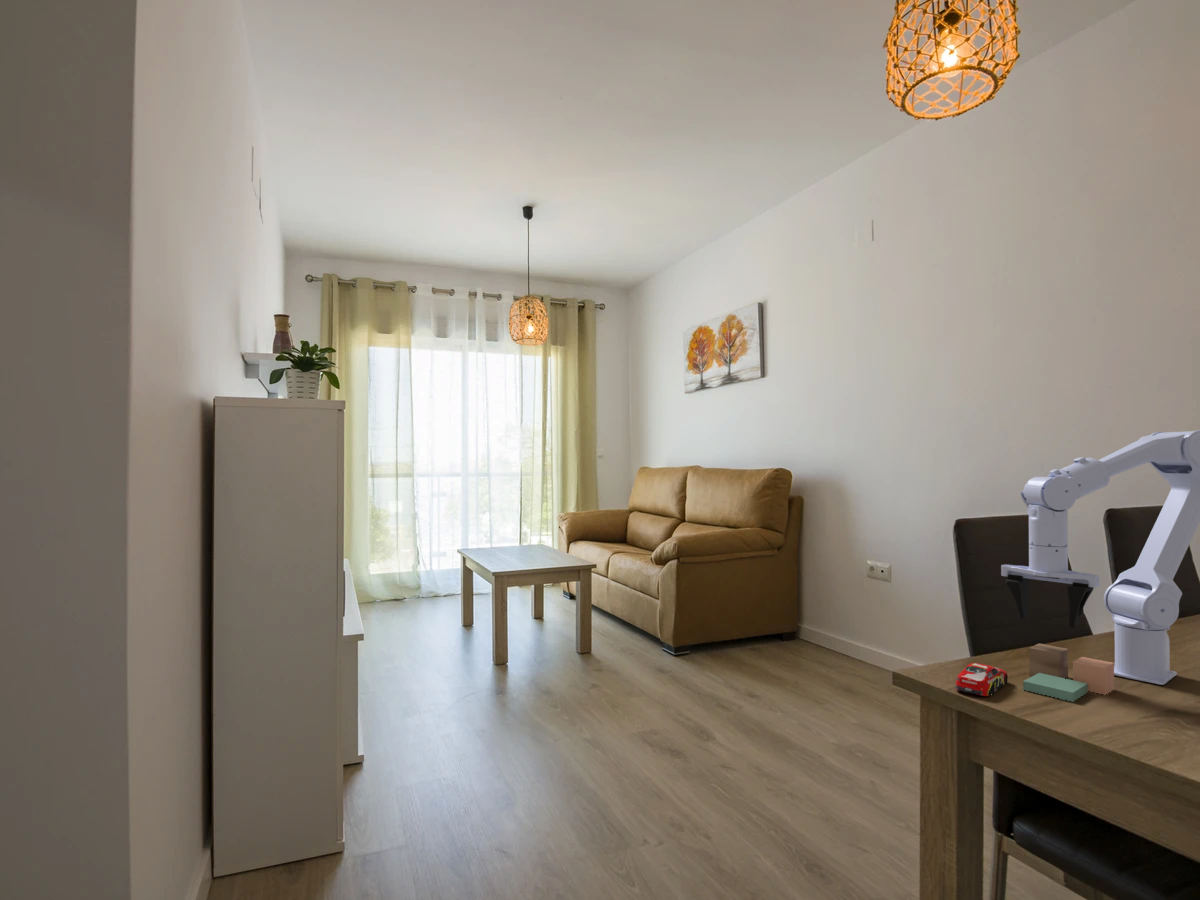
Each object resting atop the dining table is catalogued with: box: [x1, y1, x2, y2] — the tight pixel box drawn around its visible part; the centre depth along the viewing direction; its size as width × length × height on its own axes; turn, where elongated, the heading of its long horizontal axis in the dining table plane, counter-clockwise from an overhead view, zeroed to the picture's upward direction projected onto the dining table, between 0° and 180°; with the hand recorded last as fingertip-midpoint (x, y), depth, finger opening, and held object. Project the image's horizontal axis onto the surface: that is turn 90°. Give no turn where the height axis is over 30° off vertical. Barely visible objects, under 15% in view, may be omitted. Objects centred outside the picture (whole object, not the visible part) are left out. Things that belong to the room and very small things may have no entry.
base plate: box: [1022, 673, 1089, 703], centre depth 111 cm, size 7×7×2 cm
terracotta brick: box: [1072, 656, 1115, 696], centre depth 113 cm, size 4×4×4 cm
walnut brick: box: [1028, 643, 1069, 679], centre depth 119 cm, size 4×4×5 cm
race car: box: [955, 662, 1009, 697], centre depth 114 cm, size 13×5×4 cm, turn 133°
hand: (1048, 622), depth 119 cm, fingers open, 7 cm apart
